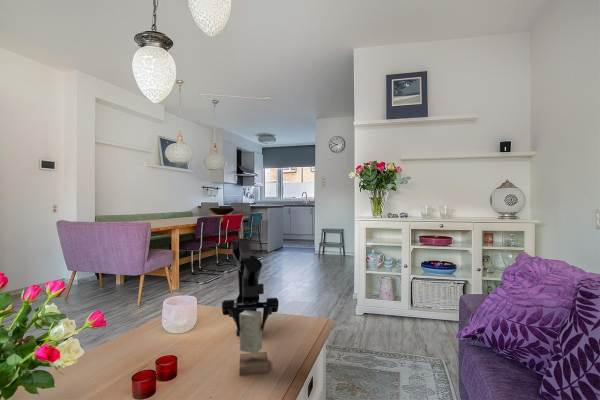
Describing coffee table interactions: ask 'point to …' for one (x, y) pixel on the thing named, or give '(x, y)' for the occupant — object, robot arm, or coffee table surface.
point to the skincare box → (250, 331)
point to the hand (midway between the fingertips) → (250, 331)
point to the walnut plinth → (254, 363)
